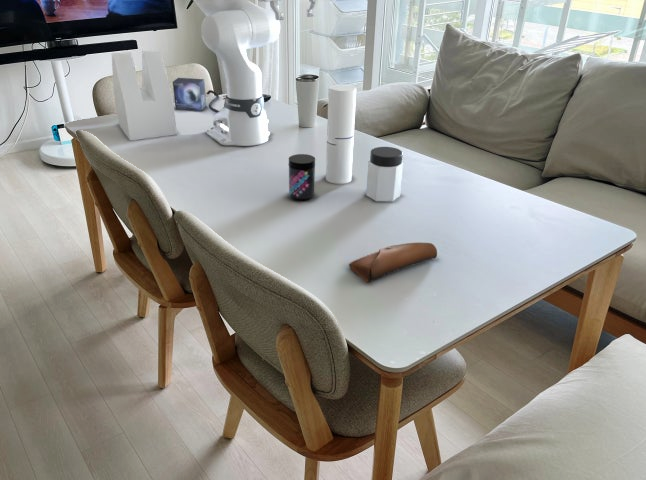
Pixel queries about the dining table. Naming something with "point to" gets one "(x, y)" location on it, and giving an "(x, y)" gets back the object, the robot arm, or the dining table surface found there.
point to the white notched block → (143, 96)
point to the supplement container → (301, 177)
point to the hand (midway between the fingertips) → (295, 18)
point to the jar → (384, 174)
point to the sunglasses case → (392, 259)
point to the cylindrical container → (340, 133)
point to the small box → (189, 94)
